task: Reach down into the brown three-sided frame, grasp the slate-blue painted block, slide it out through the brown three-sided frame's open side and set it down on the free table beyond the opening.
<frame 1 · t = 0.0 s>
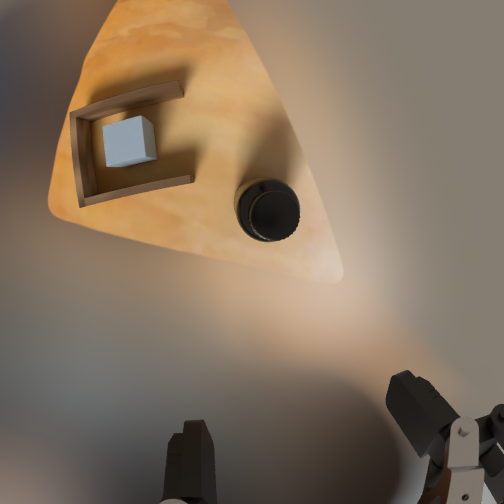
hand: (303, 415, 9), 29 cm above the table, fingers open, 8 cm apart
supplement bottle: (258, 202, 36), on the table
brown three-sided frame: (151, 142, 32), on the table
slate block: (137, 145, 32), resting in brown three-sided frame
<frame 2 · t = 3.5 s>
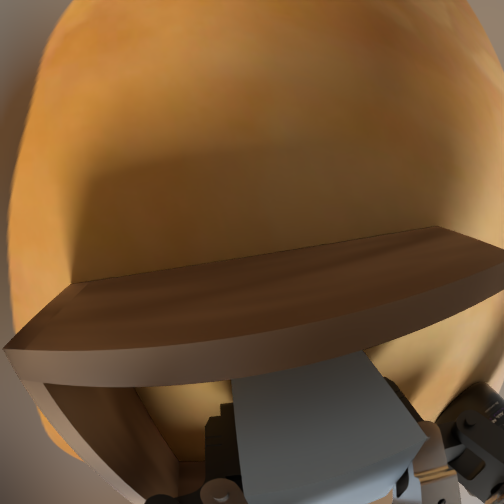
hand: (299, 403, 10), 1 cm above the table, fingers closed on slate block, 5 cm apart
supplement bottle: (456, 408, 15), on the table
brown three-sided frame: (336, 379, 11), on the table
slate block: (294, 388, 11), resting in brown three-sided frame, touching gripper
when the fingers open (2 cm above the table, at t = 8.3 s): slate block drops 1 cm, on the table.
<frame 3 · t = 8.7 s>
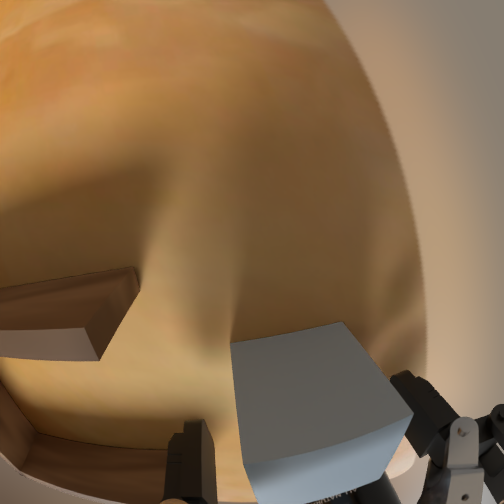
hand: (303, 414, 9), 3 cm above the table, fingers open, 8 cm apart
supplement bottle: (326, 457, 15), on the table
brown three-sided frame: (91, 392, 11), on the table
slate block: (290, 374, 12), on the table
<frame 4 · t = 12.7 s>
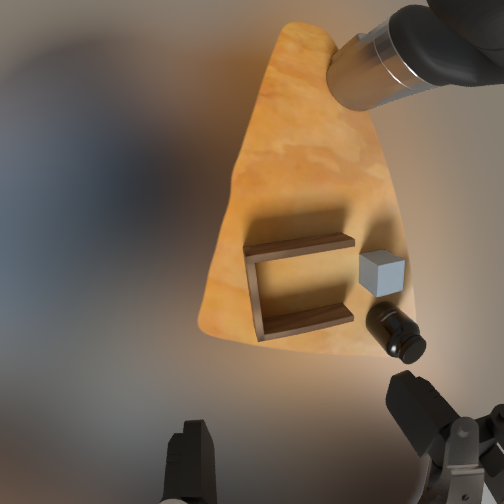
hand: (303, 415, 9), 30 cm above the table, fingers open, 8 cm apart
supplement bottle: (379, 316, 45), on the table
brown three-sided frame: (313, 278, 41), on the table
slate block: (371, 265, 42), on the table
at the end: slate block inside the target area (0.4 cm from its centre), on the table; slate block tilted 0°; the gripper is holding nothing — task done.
